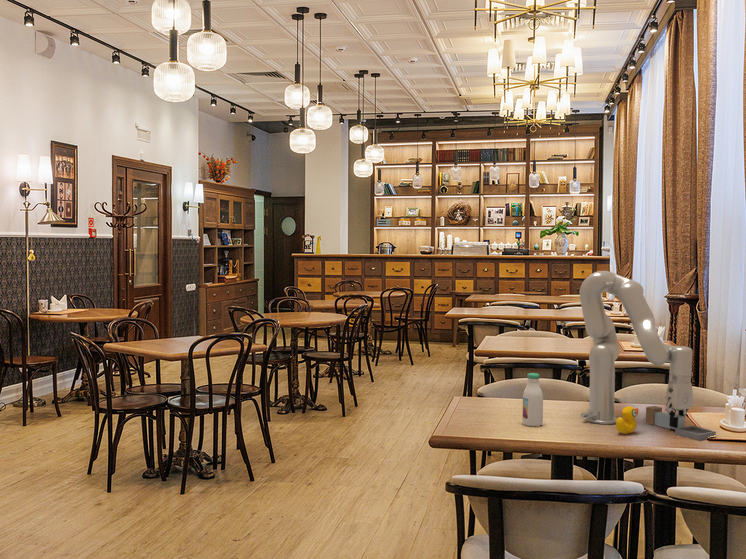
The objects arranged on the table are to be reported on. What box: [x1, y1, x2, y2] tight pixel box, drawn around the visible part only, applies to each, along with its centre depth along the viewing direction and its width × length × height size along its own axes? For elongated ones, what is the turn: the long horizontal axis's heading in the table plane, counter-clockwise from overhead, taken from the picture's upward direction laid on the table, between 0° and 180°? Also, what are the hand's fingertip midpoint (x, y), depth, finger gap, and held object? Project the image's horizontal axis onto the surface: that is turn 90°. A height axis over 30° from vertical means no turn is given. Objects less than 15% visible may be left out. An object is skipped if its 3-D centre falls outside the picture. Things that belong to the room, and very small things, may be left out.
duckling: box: [615, 405, 639, 435], centre depth 255 cm, size 11×5×10 cm, turn 122°
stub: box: [669, 414, 686, 430], centre depth 260 cm, size 4×4×5 cm
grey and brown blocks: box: [645, 405, 673, 430], centre depth 267 cm, size 5×10×6 cm, turn 29°
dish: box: [674, 425, 717, 441], centre depth 253 cm, size 10×10×2 cm
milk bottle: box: [522, 372, 544, 427], centre depth 267 cm, size 8×8×20 cm
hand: (676, 426), depth 260 cm, fingers closed on stub, 3 cm apart
